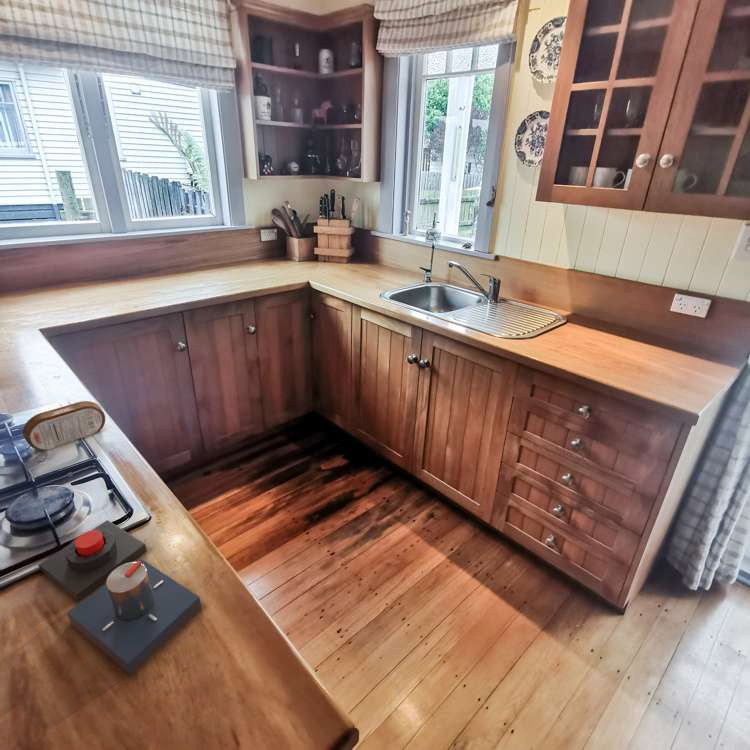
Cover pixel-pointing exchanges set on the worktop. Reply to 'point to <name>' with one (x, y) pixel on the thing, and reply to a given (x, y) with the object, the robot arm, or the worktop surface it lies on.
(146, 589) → the knob
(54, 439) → the tin
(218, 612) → the worktop surface
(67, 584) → the housing
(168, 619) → the panel
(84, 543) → the button
